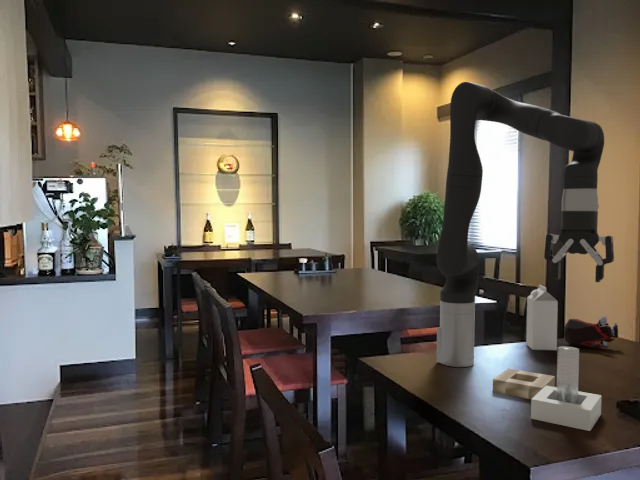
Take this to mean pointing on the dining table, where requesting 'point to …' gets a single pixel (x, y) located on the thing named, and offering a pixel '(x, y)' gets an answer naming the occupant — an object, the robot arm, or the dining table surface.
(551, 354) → the dining table surface
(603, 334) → the toy
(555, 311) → the milk carton
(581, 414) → the grey socket
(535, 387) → the maple socket
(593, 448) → the dining table surface
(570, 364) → the steel peg
